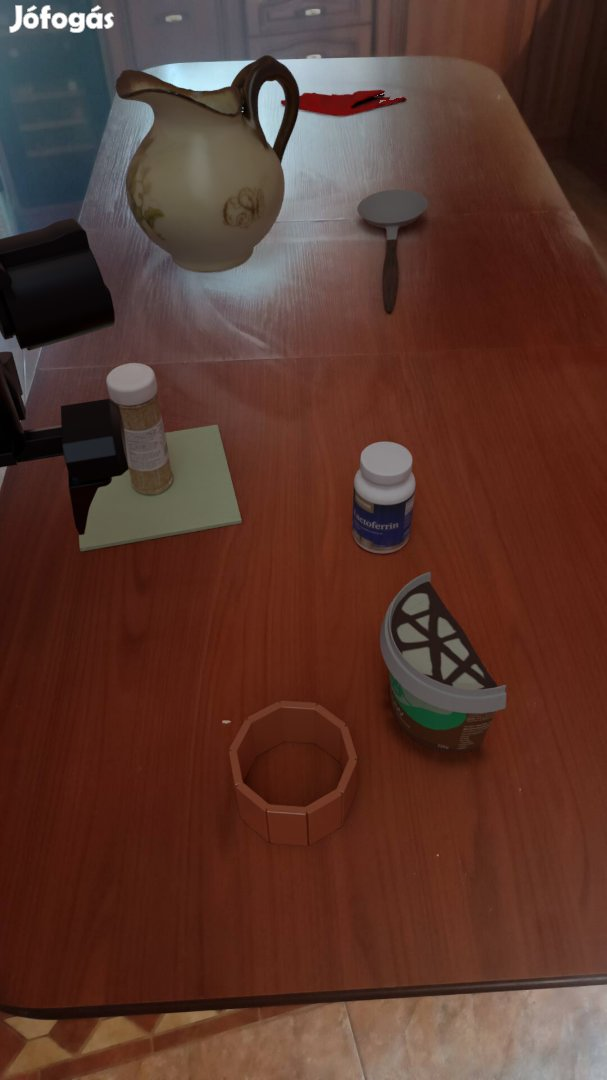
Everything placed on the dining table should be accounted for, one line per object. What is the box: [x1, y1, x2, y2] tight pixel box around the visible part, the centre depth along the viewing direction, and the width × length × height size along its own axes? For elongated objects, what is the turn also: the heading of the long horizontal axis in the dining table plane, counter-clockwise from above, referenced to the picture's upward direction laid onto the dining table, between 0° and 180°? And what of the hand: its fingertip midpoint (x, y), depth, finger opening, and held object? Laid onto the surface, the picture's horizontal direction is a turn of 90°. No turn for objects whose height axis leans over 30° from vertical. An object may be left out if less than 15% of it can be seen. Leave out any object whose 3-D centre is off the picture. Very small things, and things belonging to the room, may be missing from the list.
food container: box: [379, 571, 507, 754], centre depth 61 cm, size 12×6×10 cm, turn 21°
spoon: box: [356, 189, 429, 313], centre depth 118 cm, size 11×33×3 cm, turn 175°
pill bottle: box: [351, 441, 417, 555], centre depth 75 cm, size 6×6×10 cm
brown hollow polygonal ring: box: [228, 700, 358, 847], centre depth 59 cm, size 9×9×5 cm
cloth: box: [280, 89, 408, 117], centre depth 164 cm, size 26×14×2 cm, turn 79°
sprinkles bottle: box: [105, 362, 174, 495], centre depth 79 cm, size 5×5×14 cm
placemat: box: [78, 424, 243, 553], centre depth 84 cm, size 16×16×1 cm
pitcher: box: [115, 54, 301, 273], centre depth 112 cm, size 22×24×25 cm
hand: (20, 541), depth 61 cm, fingers open, 9 cm apart
